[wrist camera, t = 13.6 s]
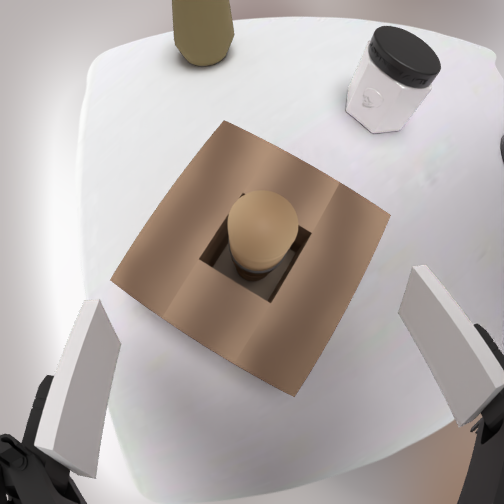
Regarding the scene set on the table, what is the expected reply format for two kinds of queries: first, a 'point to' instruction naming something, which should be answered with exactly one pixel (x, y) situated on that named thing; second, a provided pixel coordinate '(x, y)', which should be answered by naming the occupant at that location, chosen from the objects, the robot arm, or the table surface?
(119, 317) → the table surface
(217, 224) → the walnut socket block
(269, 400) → the table surface
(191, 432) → the table surface
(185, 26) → the squeeze bottle
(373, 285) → the table surface
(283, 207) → the oak peg
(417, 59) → the jar
